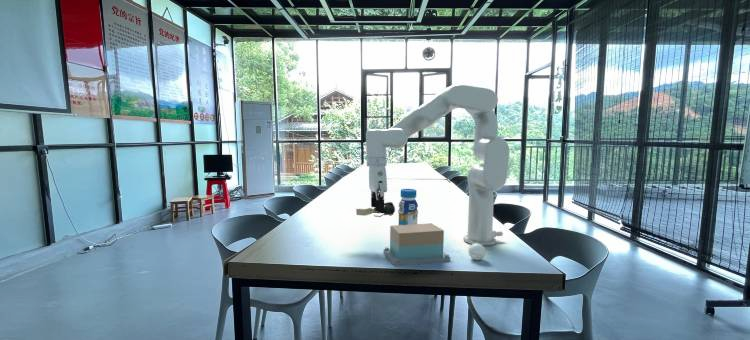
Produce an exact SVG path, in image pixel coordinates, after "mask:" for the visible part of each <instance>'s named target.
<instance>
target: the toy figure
mask: <svg viewBox="0 0 750 340" xmlns="http://www.w3.org/2000/svg"><path fill="white" fill-rule="evenodd" d="M375 203H376V200H375V202H374V204H375ZM355 209H356V211H355V212H356V216H368V215H372V214H373V217H374V218H375V217H378V218H381V217H382V216H389V217H390V216H393V215H394V213H395V211H396V207H395V205H394V203H393V202H392V201H389V202H384V210H383V211H376V206H375V207H367V208H355ZM375 214H381V215H375Z"/></svg>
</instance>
